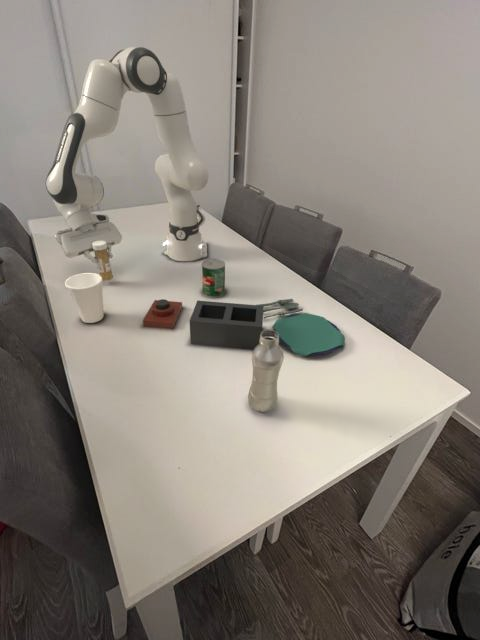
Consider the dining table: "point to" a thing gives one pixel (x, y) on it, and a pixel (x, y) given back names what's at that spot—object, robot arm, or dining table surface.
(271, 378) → the plastic bottle
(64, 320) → the dining table surface
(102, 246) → the sprinkles bottle
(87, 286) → the cup
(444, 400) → the dining table surface
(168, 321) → the button block
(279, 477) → the dining table surface
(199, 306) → the dark grey hollow block
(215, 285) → the canned tomato
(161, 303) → the button
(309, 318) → the cutlery set
